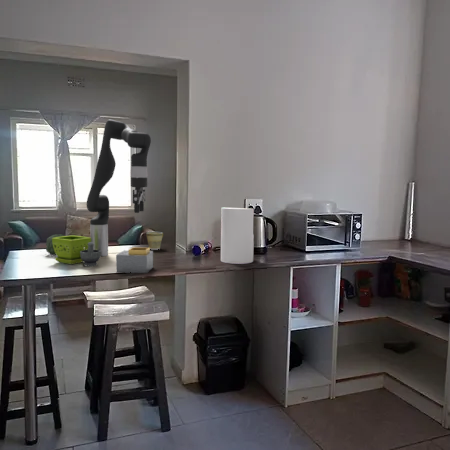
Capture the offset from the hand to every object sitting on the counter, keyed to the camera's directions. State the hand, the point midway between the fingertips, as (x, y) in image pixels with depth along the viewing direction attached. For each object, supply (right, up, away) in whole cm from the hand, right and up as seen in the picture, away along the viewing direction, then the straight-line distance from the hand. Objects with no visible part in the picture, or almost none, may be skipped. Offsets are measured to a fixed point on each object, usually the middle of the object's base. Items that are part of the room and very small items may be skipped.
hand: (139, 211), depth 206 cm
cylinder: (+46, -25, +31) cm, 61 cm away
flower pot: (-38, -25, +20) cm, 49 cm away
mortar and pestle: (-26, -26, +12) cm, 39 cm away
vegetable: (-52, -23, +41) cm, 71 cm away
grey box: (-2, -27, +3) cm, 27 cm away
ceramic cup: (-2, -21, +66) cm, 69 cm away
